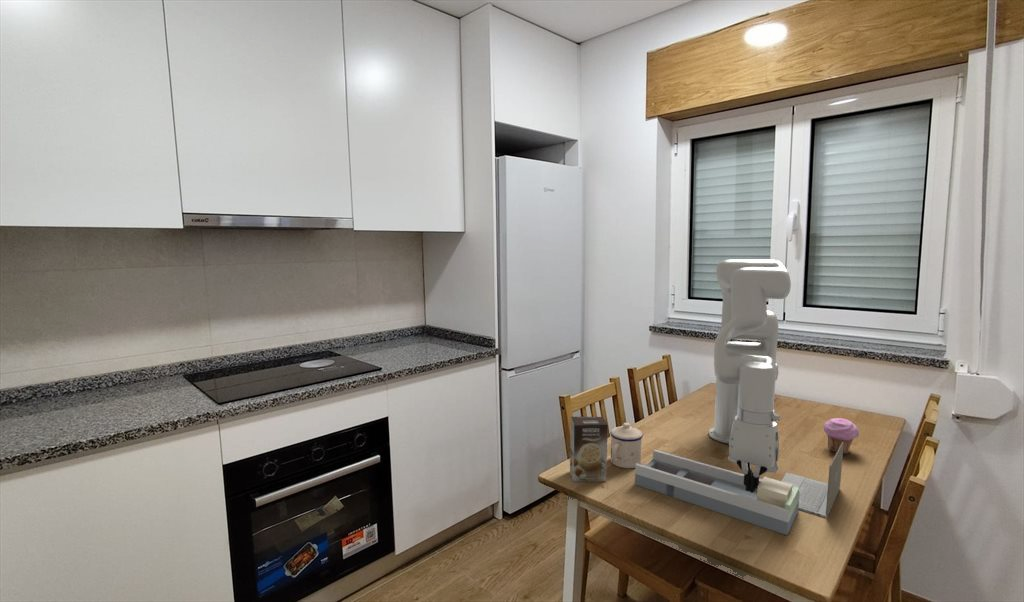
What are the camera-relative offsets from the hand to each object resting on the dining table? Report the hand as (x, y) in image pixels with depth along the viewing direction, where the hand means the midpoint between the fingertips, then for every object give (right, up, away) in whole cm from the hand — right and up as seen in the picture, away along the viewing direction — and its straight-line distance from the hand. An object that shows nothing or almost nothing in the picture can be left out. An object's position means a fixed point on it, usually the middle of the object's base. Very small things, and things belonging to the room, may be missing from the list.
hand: (750, 489), depth 118 cm
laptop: (+18, -5, +8) cm, 20 cm away
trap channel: (-7, -5, +7) cm, 10 cm away
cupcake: (+43, -1, +33) cm, 54 cm away
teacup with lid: (-25, -2, +25) cm, 36 cm away
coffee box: (-36, -4, +18) cm, 40 cm away
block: (+4, -3, -3) cm, 5 cm away
